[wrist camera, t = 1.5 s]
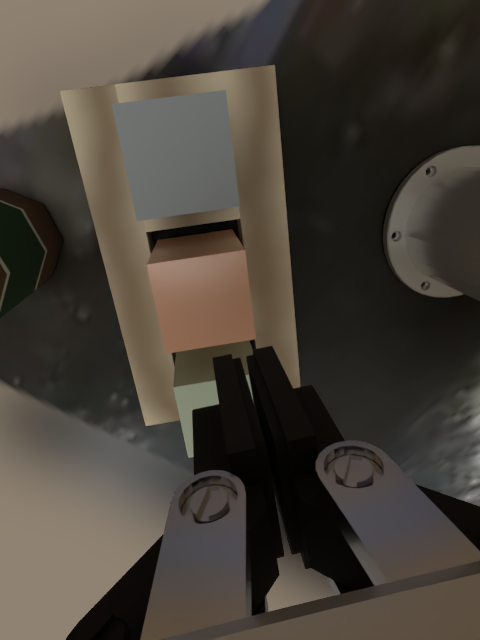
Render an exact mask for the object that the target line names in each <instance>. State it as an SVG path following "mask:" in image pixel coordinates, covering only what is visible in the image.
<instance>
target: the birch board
mask: <svg viewBox="0 0 480 640" xmlns="http://www.w3.org/2000/svg"><path fill="white" fill-rule="evenodd" d="M221 90H226V96H227V104H228V112H229V121H230V129H231V137H232V145H233V154H234V162H235V170H236V178H237V186H238V195H239V203H240V207H233V208H226V209H219V210H212V211H205V212H198V213H191V214H184V215H177V216H170V217H163V218H156V219H149V220H142V221H137V219H136V214H135V210H134V205H133V200H132V196H131V191H130V187H129V182H128V177H127V173H126V168H125V164H124V159H123V154H122V150H121V145H120V141H119V136H118V131H117V127H116V122H115V118H114V113H113V108H112V104H117V103H125V102H133V101H141V100H149V99H157V98H165V97H173V96H181V95H189V94H197V93H205V92H213V91H221ZM60 94H61V98H62V102H63V106H64V110H65V114H66V117H67V121H68V125H69V129H70V133H71V137H72V141H73V145H74V149H75V152H76V156H77V160H78V164H79V168H80V172H81V176H82V180H83V184H84V187H85V191H86V195H87V199H88V203H89V207H90V211H91V215H92V219H93V222H94V226H95V230H96V234H97V238H98V242H99V246H100V250H101V253H102V257H103V261H104V265H105V269H106V273H107V277H108V281H109V285H110V288H111V292H112V296H113V300H114V304H115V308H116V312H117V316H118V320H119V323H120V327H121V331H122V335H123V339H124V343H125V347H126V351H127V355H128V358H129V362H130V366H131V370H132V374H133V378H134V382H135V386H136V389H137V393H138V397H139V401H140V405H141V409H142V413H143V417H144V421H145V424H146V426H149V425H155V424H160V423H166V422H172V421H178V420H180V417H179V412H178V408H177V403H176V398H175V394H174V389H173V383H174V371H175V359H176V352H174V353H168V354H166V352H165V348H164V343H163V339H162V334H161V329H160V325H159V320H158V316H157V311H156V306H155V302H154V297H153V293H152V288H151V283H150V279H149V274H148V269H147V262H148V260H149V258H150V256H151V253H152V251H153V249H154V244H153V239H152V234H151V231H158V230H165V229H172V228H179V227H186V226H193V225H200V224H207V223H214V222H221V221H227V220H234V219H237V225H238V233H239V241H240V242H241V244H242V246H243V247H244V249H245V252H246V260H247V269H248V277H249V285H250V293H251V302H252V310H253V318H254V326H255V334H256V339H254V340H252V344H253V349H258V348H263V347H268V346H273V348H274V350H275V352H276V354H277V356H278V358H279V360H280V362H281V364H282V366H283V369H284V371H285V373H286V375H287V377H288V379H289V381H290V383H291V385H292V387H293V388H298V387H300V374H299V362H298V349H297V337H296V324H295V312H294V299H293V287H292V274H291V262H290V249H289V237H288V224H287V212H286V199H285V187H284V174H283V162H282V149H281V137H280V124H279V112H278V99H277V87H276V74H275V65H270V66H261V67H253V68H245V69H237V70H229V71H221V72H212V73H204V74H196V75H188V76H180V77H171V78H163V79H155V80H147V81H139V82H130V83H122V84H114V85H106V86H98V87H90V88H82V89H73V90H65V91H60Z"/></svg>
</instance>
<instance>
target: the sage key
mask: <svg viewBox="0 0 480 640" xmlns="http://www.w3.org/2000/svg"><path fill="white" fill-rule="evenodd" d="M228 354H232V358H233V359H235V358H240V359H241V362H242V365H243V369H244V372H245V375H246V379H247V382H248V386H249V389H250V392H251V396H252V399H253V395H252V389H251V383H250V378H249V372H248V366H247V360H246V356H249V355H253V350H252V347H251V344H250V341H249V340H248V341H241V342H235V343H229V344H223V345H217V346H211V347H205V348H198V349H192V350H186V351H180V352H176V359H175V371H174V383H173V389H174V394H175V398H176V403H177V408H178V412H179V417H180V421H181V426H182V431H183V435H184V440H185V444H186V449H187V454H188V458H190V457H194V454H193V426H192V410H193V409H198V408H203V407H207V406H212V405H217V404H219V400H218V393H217V387H216V380H215V373H214V367H213V360H212V358H213V357H218V356H223V355H228ZM253 402H254V401H253Z"/></svg>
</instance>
